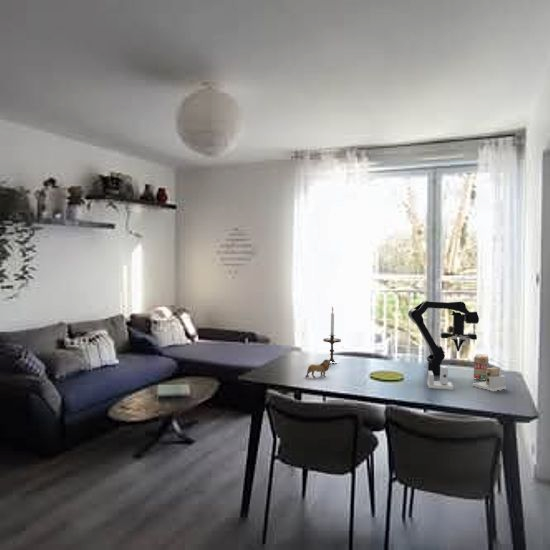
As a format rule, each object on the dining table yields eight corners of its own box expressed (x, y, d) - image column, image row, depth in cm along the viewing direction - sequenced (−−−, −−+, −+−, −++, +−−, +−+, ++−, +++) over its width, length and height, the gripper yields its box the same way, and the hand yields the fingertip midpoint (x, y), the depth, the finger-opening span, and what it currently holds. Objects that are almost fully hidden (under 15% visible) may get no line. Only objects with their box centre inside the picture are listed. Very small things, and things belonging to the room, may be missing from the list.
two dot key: (485, 384, 238) (485, 368, 238) (493, 383, 241) (494, 367, 241) (490, 385, 235) (491, 369, 235) (499, 384, 238) (499, 368, 238)
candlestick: (320, 361, 302) (321, 305, 302) (336, 360, 305) (337, 305, 304) (326, 364, 292) (327, 307, 291) (343, 364, 294) (344, 306, 294)
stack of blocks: (476, 372, 277) (477, 351, 277) (488, 373, 275) (489, 352, 274) (473, 379, 258) (474, 356, 258) (486, 381, 255) (486, 357, 255)
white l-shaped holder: (472, 386, 242) (472, 373, 242) (485, 384, 247) (485, 371, 247) (493, 391, 232) (493, 378, 232) (506, 389, 237) (506, 376, 237)
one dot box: (450, 384, 245) (451, 372, 245) (453, 389, 235) (453, 376, 235) (427, 383, 247) (427, 370, 247) (428, 387, 238) (429, 374, 237)
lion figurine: (327, 374, 264) (327, 358, 264) (332, 376, 259) (332, 360, 259) (303, 376, 258) (303, 360, 258) (307, 378, 253) (308, 361, 253)
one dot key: (446, 381, 243) (446, 365, 243) (447, 384, 237) (448, 368, 237) (439, 381, 244) (440, 365, 244) (441, 383, 238) (441, 367, 238)
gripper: (473, 322, 276) (473, 349, 276) (439, 321, 280) (439, 348, 280) (477, 324, 265) (476, 353, 265) (441, 323, 269) (441, 351, 269)
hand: (458, 351), depth 270 cm, fingers closed
